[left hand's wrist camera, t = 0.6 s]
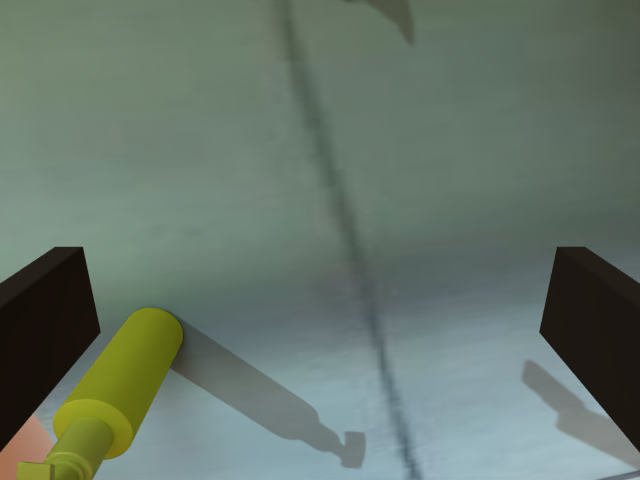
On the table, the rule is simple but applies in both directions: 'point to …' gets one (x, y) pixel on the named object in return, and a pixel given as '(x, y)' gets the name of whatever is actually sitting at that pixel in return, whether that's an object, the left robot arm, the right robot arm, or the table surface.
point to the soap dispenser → (110, 398)
